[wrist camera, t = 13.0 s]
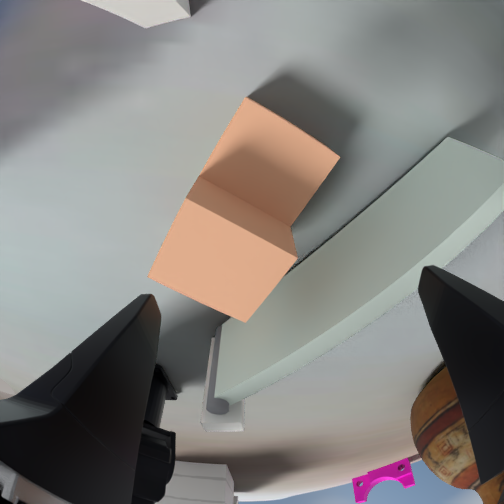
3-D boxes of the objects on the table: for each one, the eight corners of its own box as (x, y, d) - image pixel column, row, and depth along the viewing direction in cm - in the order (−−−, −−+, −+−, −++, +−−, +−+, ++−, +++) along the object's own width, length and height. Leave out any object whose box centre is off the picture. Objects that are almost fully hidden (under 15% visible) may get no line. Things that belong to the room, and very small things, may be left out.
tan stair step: (248, 258, 23) (245, 322, 17) (176, 221, 21) (147, 276, 15) (326, 145, 18) (361, 174, 12) (246, 96, 17) (243, 98, 11)
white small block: (246, 347, 27) (244, 431, 20) (215, 348, 28) (205, 431, 20) (182, -52, 11) (140, -118, 3) (139, -40, 11) (77, -92, 3)
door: (234, 345, 27) (230, 421, 20) (212, 331, 26) (201, 408, 19) (462, 164, 18) (532, 206, 11) (447, 136, 17) (523, 169, 10)
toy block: (407, 456, 51) (413, 482, 44) (409, 461, 53) (415, 484, 47) (349, 476, 55) (353, 501, 48) (355, 480, 57) (359, 503, 51)
